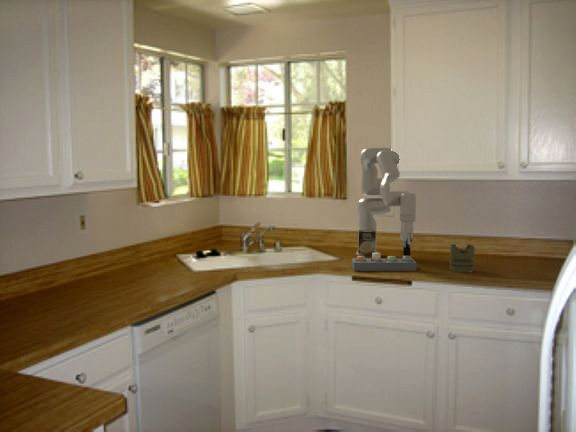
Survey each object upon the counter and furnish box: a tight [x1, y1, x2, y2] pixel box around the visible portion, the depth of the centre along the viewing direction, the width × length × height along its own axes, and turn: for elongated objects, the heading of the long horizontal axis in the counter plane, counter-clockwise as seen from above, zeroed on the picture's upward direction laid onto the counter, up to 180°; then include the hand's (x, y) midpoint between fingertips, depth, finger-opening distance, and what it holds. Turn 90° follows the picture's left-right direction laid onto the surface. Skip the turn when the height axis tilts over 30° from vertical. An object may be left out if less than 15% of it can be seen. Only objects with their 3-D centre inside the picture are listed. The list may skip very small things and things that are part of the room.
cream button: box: [372, 252, 382, 261], centre depth 305 cm, size 4×4×4 cm
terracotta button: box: [356, 255, 365, 261], centre depth 305 cm, size 4×4×4 cm
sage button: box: [387, 255, 397, 261], centre depth 305 cm, size 4×4×4 cm
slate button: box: [402, 255, 412, 261], centre depth 305 cm, size 4×4×4 cm
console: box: [351, 257, 418, 272], centre depth 305 cm, size 12×30×4 cm, turn 89°
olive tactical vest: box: [449, 243, 476, 273], centre depth 299 cm, size 11×12×11 cm
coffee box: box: [357, 229, 377, 258], centre depth 324 cm, size 9×6×16 cm
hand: (406, 255), depth 305 cm, fingers closed
